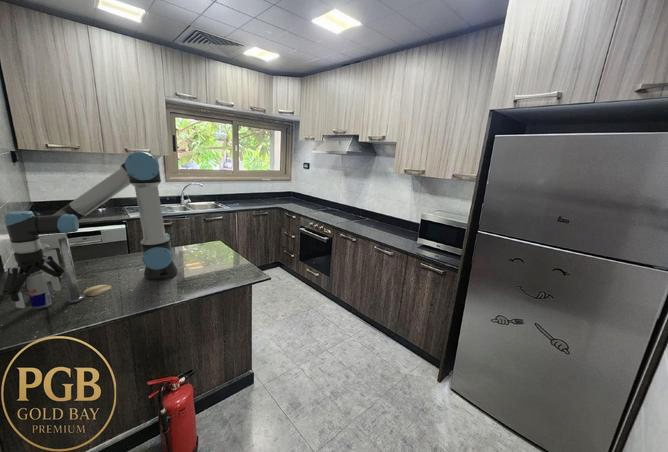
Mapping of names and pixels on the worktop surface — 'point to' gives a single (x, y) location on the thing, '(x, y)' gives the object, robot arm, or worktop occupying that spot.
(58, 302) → the worktop surface
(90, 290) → the coaster
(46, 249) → the milk carton
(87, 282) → the worktop surface
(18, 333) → the worktop surface
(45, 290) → the beverage can
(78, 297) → the post
